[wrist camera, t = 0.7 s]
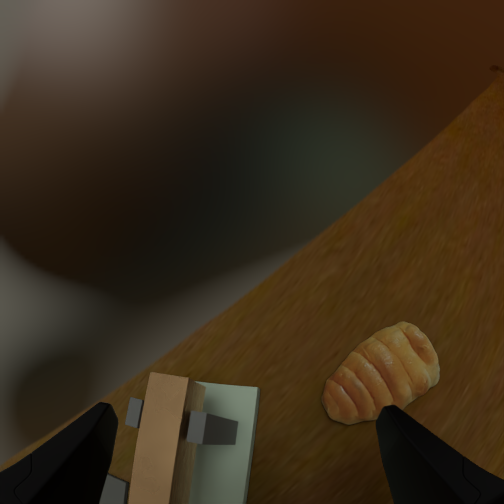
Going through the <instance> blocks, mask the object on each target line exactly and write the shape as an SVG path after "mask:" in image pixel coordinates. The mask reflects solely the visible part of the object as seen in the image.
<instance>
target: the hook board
mask: <svg viewBox="0 0 504 504" xmlns="http://www.w3.org/2000/svg"><path fill="white" fill-rule="evenodd" d="M195 382H196V381H195ZM197 383H199V384H201V385H203V386H205V387H206V391H205V397H204V403H203V409H202V412H197V411H191V416H190V422H189V428H188V434H187V441H188V442H192V443H197V448H196V455H195V462H194V468H193V475H192V483H191V490H190V497H189V504H246V500H247V493H248V485H249V478H250V471H251V463H252V455H253V447H254V439H255V431H256V423H257V414H258V406H259V397H260V389H259V388H258V387H246V386H233V385H223V384H213V383H204V382H197ZM143 406H144V401H143V400H140V399H136V398H132V397H130V402H129V407H128V412H127V417H126V422H125V424H126V425H129V426H132V427H135V428H140V422H141V417H142V412H143Z"/></svg>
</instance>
